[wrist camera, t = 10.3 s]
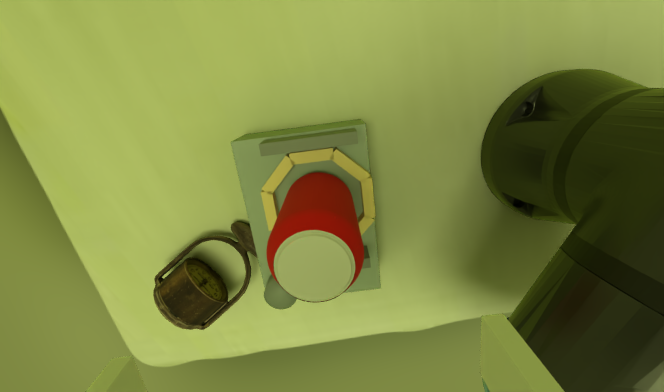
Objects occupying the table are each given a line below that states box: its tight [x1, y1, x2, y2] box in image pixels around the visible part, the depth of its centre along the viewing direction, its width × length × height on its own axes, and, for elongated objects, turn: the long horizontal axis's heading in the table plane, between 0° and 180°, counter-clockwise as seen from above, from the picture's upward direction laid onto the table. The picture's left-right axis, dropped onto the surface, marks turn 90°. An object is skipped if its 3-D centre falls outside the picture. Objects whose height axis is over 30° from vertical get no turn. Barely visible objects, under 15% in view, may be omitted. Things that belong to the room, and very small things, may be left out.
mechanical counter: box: [153, 222, 258, 330], centre depth 34 cm, size 7×13×10 cm
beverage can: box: [266, 172, 364, 302], centre depth 24 cm, size 6×6×12 cm
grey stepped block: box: [231, 119, 381, 309], centre depth 31 cm, size 12×17×8 cm
